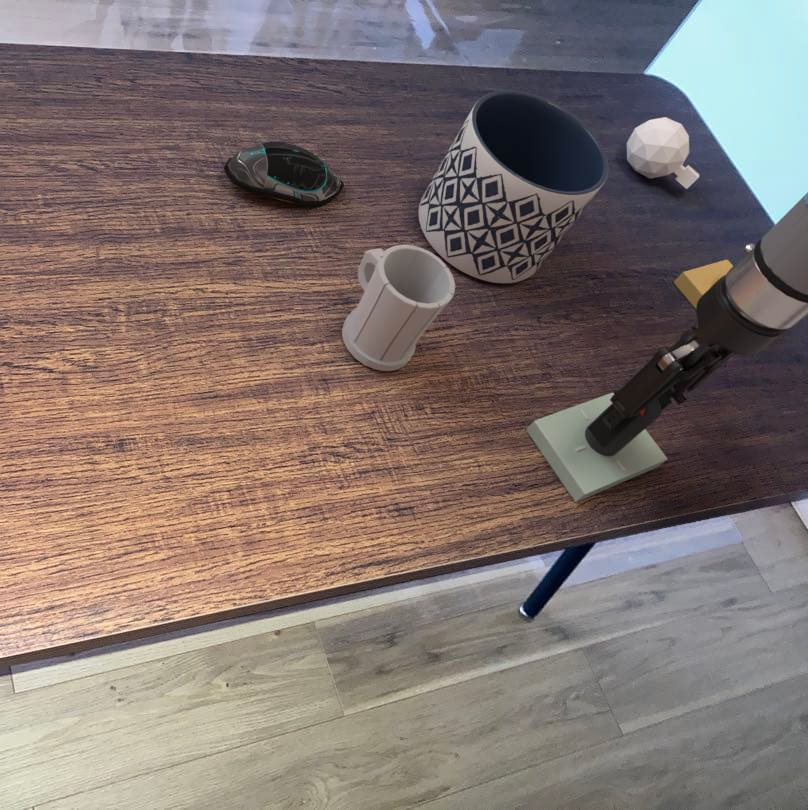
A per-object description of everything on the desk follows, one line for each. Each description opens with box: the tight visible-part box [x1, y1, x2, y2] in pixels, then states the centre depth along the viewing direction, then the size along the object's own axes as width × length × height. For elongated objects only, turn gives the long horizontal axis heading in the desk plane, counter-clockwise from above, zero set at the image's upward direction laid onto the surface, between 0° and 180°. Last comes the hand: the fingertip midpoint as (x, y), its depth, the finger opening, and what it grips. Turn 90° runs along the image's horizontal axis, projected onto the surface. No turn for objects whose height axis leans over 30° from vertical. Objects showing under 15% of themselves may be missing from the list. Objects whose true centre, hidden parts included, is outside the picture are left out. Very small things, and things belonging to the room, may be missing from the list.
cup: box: [341, 244, 456, 372], centre depth 101 cm, size 10×9×12 cm
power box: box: [673, 259, 734, 310], centre depth 126 cm, size 12×10×4 cm
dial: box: [585, 398, 663, 456], centre depth 101 cm, size 4×4×8 cm
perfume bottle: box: [626, 116, 700, 190], centre depth 138 cm, size 9×9×12 cm
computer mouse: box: [223, 141, 345, 209], centre depth 114 cm, size 9×17×6 cm, turn 103°
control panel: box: [525, 391, 668, 503], centre depth 105 cm, size 14×10×2 cm
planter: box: [417, 89, 609, 284], centre depth 115 cm, size 18×18×16 cm
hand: (612, 430), depth 103 cm, fingers closed on dial, 4 cm apart
